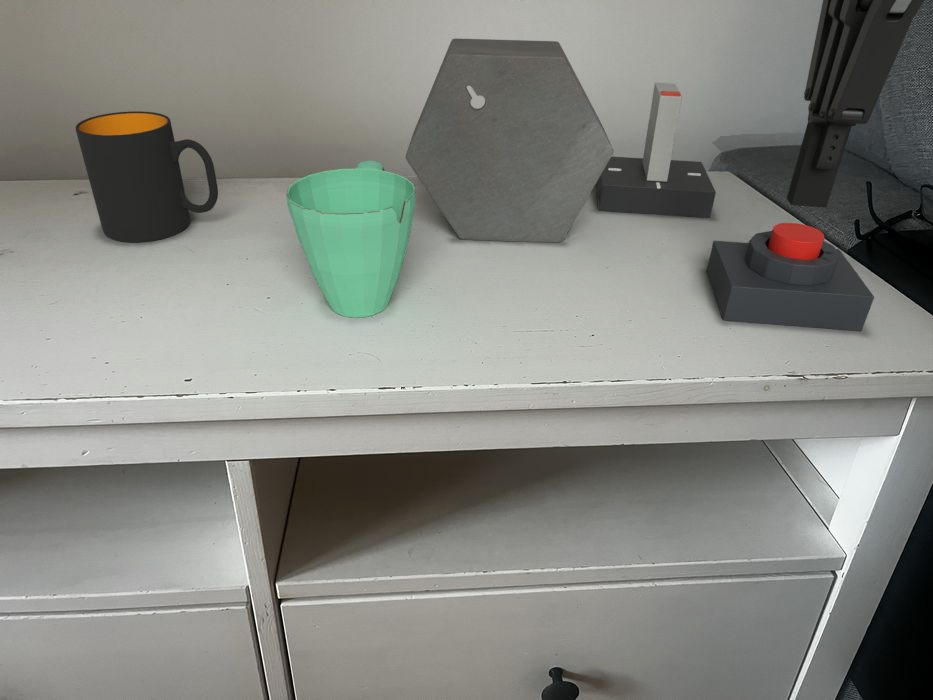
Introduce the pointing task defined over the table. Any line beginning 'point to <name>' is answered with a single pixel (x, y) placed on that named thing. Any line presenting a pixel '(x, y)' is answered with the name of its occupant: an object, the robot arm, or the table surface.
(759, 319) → the button block
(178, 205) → the mug
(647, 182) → the lever base
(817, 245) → the button
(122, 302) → the table surface
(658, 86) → the upright gray panel
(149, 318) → the table surface
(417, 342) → the table surface
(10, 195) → the table surface
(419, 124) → the grey hexagonal block
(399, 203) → the mug
